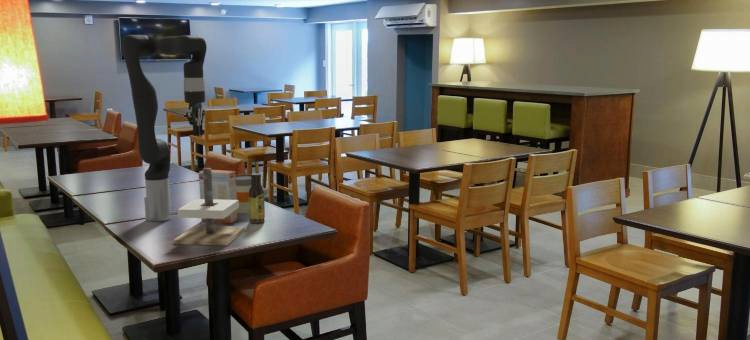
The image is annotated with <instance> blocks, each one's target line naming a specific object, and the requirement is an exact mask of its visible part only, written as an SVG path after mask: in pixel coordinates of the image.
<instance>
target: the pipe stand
mask: <svg viewBox="0 0 750 340" xmlns="http://www.w3.org/2000/svg"><path fill="white" fill-rule="evenodd" d="M212 170H213V169H212V168H211V167H204V168H202V171H203V178H204V197H205V206H213V190H212ZM245 231H246V227H245V226H243V225H242V226H239V225H238V226H237V225H236V226H234V225H215V222H214V219H213V218H206V221H205V225H204V224H202V225H201V224H200V225H199V224H195V225H192V227H191V228H189V229H187V230H186V231H185V232H183V233H182V234H180V235H179V236H177V237H175V238H174V239H173V244H174V245H175V244H176V245H197V246H198V245H204V246H228V245H230V243H232V242H233V241H235V239H237V238H238V237H239V236H240V235H241V234H242V233H243V232H245Z"/></svg>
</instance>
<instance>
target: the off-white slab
mask: <svg viewBox="0 0 750 340" xmlns="http://www.w3.org/2000/svg"><path fill="white" fill-rule="evenodd" d="M238 208H239V200H219V199H213V206H205V199H200V198H195V199H194V200H192V201H190V202H187V204H185V205H183V206H181V207H180V208H178V209H177V218H178V219H179V218H183V219H201V218H213V219H224V218H225V217H227V216H228V215H229V214H231V213H232V212H234V211H235V210H236V209H238Z"/></svg>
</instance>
